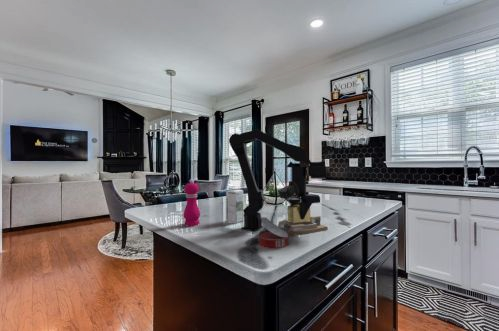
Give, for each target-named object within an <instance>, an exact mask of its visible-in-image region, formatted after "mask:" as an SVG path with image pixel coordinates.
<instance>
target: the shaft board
mask: <svg viewBox="0 0 499 331" xmlns="http://www.w3.org/2000/svg"><path fill="white" fill-rule="evenodd" d="M321 218H322V217H321V216H320V215H310V221H305V222H297V223H292V222H289V221H288V219H287V220H286V219H282V220H280V221H278V223H277V226H278V227H279V228H281V229H282V230H284V231H285V232H286V233H287V234H288V237H292V236H293V237H294V236H298V235H305V234H310V233H315V232H321V231H322V232H323V231H327V230H328V228H329V227H328V226H326V225H323V224H321Z"/></svg>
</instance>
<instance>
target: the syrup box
mask: <svg viewBox="0 0 499 331" xmlns="http://www.w3.org/2000/svg"><path fill="white" fill-rule="evenodd" d="M225 194H226V195H225V200H226V201H225V202H226V203H225V205H226V206H225V211H226V212H225V217H226V218H225V219H226V220H225V222H226V223H229V224H240V223H242V222H244V211H243V210H244V190H243V189H238V188H237V189H229V190H226V191H225Z"/></svg>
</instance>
